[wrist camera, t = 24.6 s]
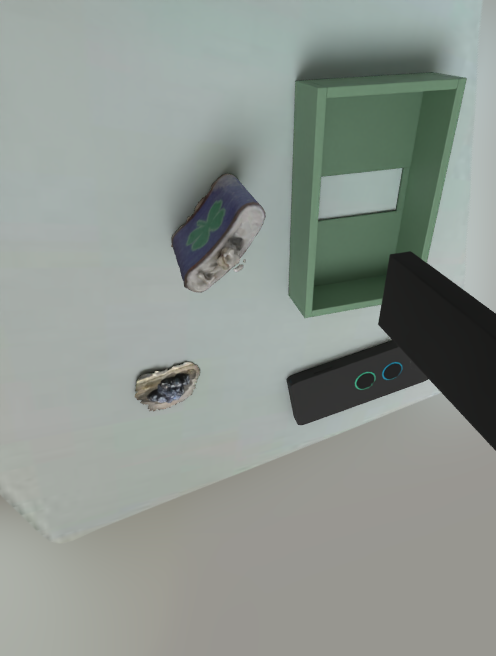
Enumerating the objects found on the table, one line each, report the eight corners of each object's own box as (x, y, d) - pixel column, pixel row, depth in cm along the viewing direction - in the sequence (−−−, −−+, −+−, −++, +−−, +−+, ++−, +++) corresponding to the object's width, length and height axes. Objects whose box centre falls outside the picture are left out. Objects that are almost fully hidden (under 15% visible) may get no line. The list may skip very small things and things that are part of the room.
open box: (295, 80, 40) (317, 87, 36) (432, 72, 43) (467, 78, 39) (288, 295, 52) (304, 318, 48) (395, 277, 55) (419, 298, 51)
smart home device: (431, 380, 65) (298, 428, 63) (424, 372, 66) (294, 419, 64) (434, 334, 60) (290, 385, 58) (426, 327, 61) (285, 376, 59)
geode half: (122, 383, 53) (123, 394, 51) (181, 346, 52) (183, 356, 51) (157, 415, 57) (159, 426, 55) (211, 381, 56) (215, 391, 55)
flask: (224, 167, 43) (258, 205, 34) (247, 186, 44) (285, 228, 36) (164, 243, 45) (181, 297, 36) (187, 259, 47) (209, 314, 38)
